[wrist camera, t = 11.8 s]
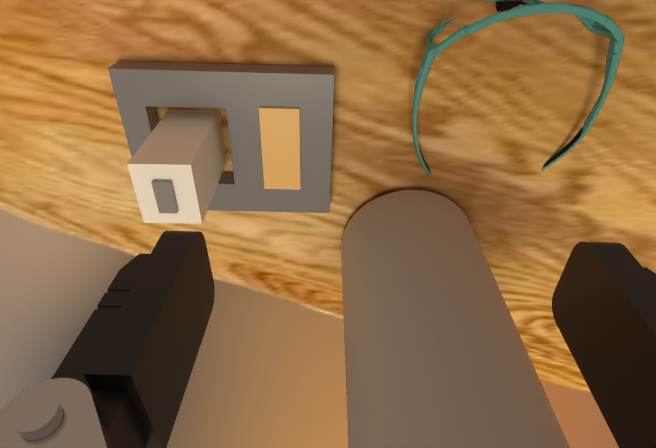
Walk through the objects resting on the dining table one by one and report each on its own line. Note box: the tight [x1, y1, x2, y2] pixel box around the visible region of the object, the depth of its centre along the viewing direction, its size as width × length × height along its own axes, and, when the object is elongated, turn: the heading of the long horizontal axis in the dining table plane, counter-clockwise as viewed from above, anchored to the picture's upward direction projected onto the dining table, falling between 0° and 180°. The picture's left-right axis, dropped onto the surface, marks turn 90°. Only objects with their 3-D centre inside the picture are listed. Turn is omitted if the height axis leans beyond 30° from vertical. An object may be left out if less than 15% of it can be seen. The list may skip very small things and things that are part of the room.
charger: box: [127, 109, 227, 223], centre depth 32 cm, size 4×5×9 cm
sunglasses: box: [413, 0, 624, 177], centre depth 32 cm, size 14×15×5 cm
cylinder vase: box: [341, 190, 570, 448], centre depth 32 cm, size 12×12×25 cm
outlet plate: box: [108, 61, 334, 213], centre depth 35 cm, size 16×12×2 cm
